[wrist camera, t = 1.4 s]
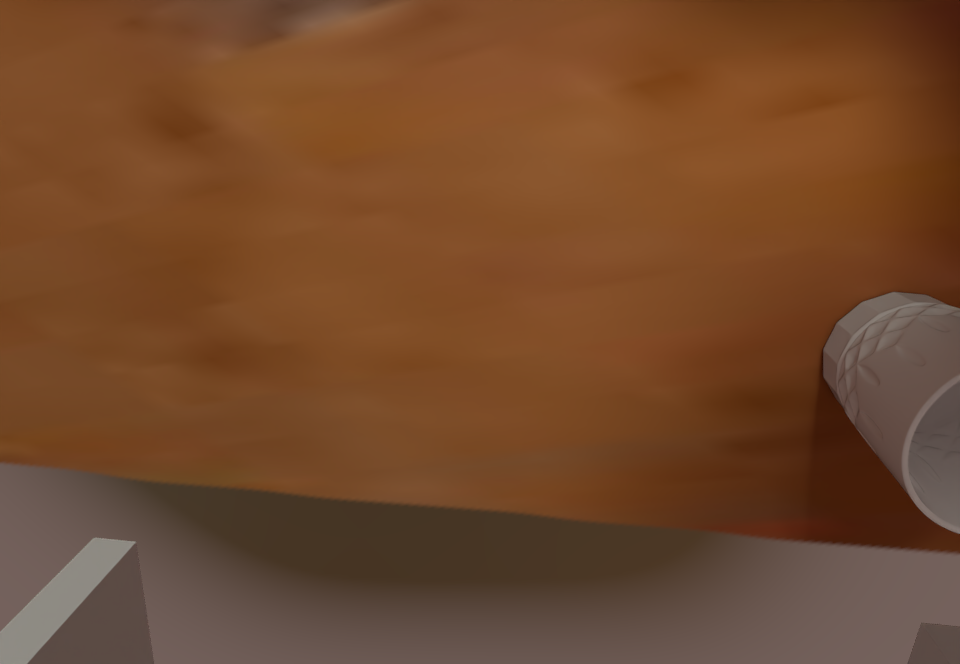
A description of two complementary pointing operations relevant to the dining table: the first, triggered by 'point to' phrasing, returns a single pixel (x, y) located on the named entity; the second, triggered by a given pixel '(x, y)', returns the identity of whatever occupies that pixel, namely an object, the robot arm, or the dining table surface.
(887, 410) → the white cup
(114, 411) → the dining table surface
